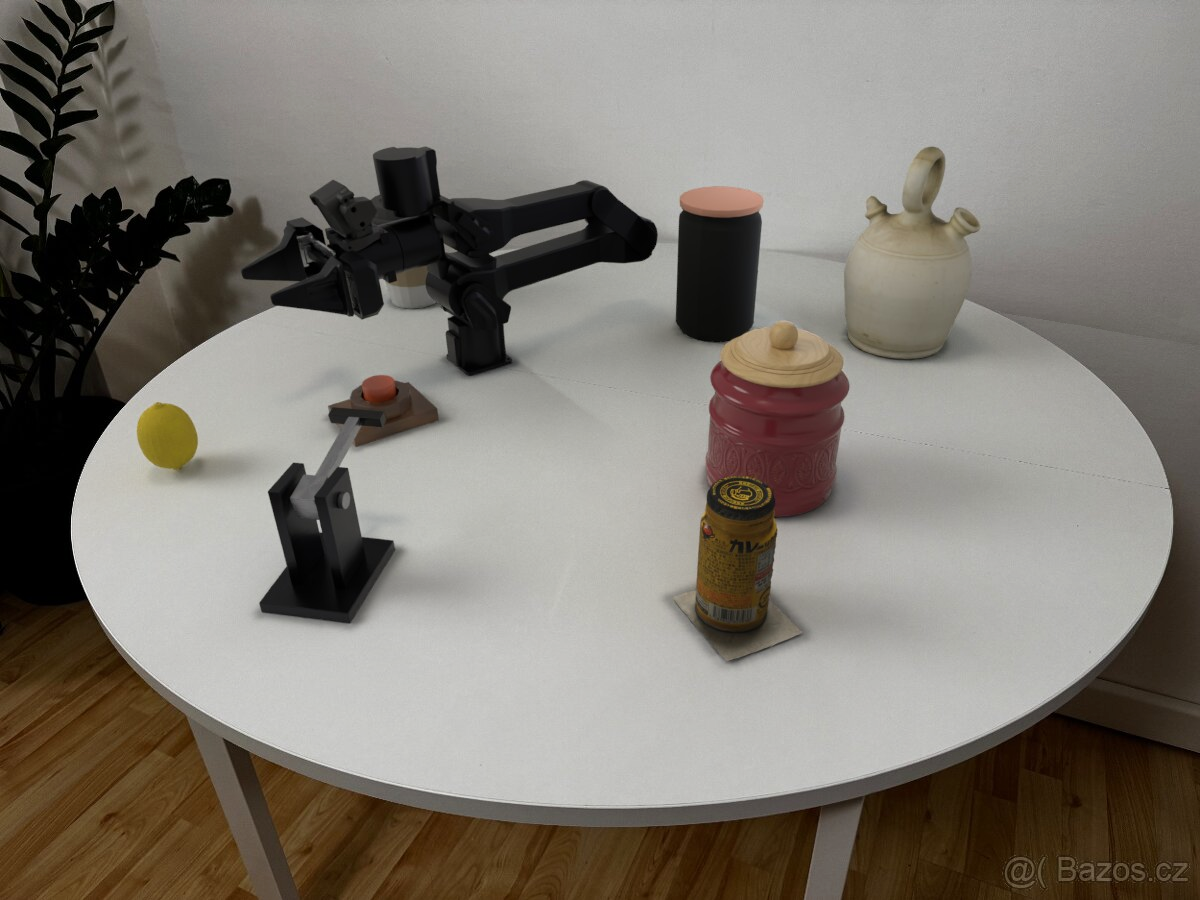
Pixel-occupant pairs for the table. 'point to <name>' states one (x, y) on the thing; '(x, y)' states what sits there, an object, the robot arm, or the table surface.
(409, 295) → the coffee cup
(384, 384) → the button
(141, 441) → the lemon
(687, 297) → the coffee jar
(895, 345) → the jug
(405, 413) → the button block
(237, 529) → the table surface
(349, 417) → the control lever
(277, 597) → the lever bracket
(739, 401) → the kitchen canister
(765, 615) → the condiment
